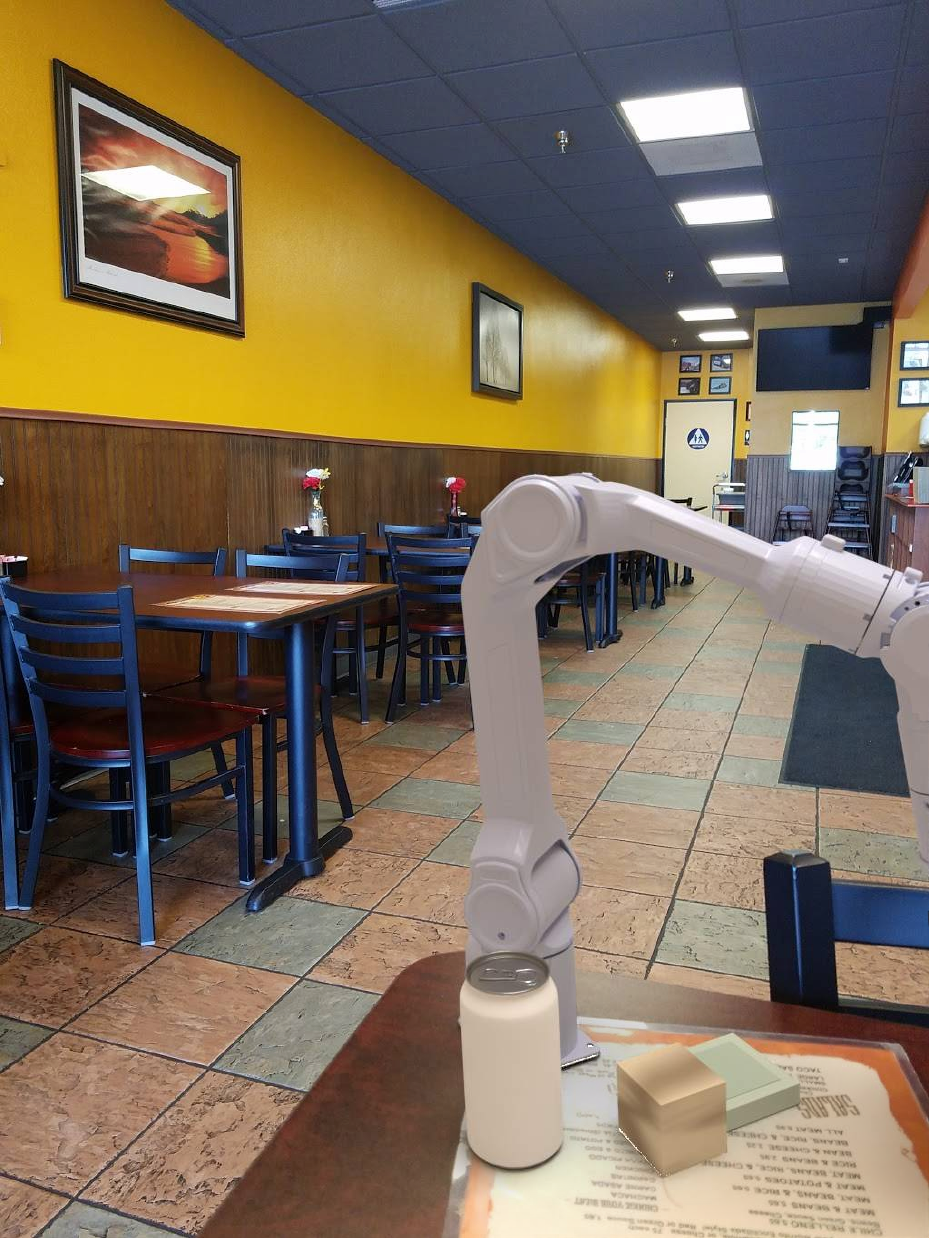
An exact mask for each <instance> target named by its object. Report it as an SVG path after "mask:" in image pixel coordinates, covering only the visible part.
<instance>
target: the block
mask: <svg viewBox="0 0 929 1238" xmlns="http://www.w3.org/2000/svg"><path fill="white" fill-rule="evenodd" d="M686 1048H687V1047H684V1045H682V1044H681V1043H680V1042H675V1043H672V1044H669V1045H666V1046H664V1047H660V1048H658V1049H655V1050H651V1051H648V1052H645V1053H642V1054H639V1055H637V1056H634V1057H631V1058H630V1057H629V1058H627V1059H624V1060H622V1061H617V1062H616V1063H615V1064H616V1091H617V1094H616V1095H617V1123H618V1127H619V1128H620V1129H621V1131H623V1133H625V1134H626V1136H627V1138H629V1140H630V1141H631V1142H632V1143H633V1144H634V1145H635V1147H637V1149H638V1150H639V1151H640V1152H642V1154H643V1155H644V1156H645V1157H646V1159H647V1160H648V1161H649V1162H650V1163H651V1164H652V1166H653V1167H655V1169H656V1170H657V1171H658V1172H659V1174H661V1176H662V1177H665V1178H667V1177H666V1175H669V1174H670V1176H672V1175H675V1174H676V1173H679V1171H680V1172H682V1171H684V1170H686V1169H689V1168H691V1167H695V1166H698V1165H699V1164H702V1163H704V1162H706V1161H709V1160H712V1159H714V1158H716V1157H719V1156H722V1155H724V1154H727V1153H728V1135H727V1133H728V1132H727V1117H726V1081H724V1080H723V1079H722V1078H721V1077H719V1076H718V1075H717V1074H716V1073H715V1072H713V1071H712V1070H711V1069H710V1068H709V1067H707V1066H706V1065H705V1064H704V1063H703V1062H701V1061H700V1060H699V1059H698V1058H697V1057H695V1056H694V1055H693V1054H692V1053H691V1052H689V1051H688V1050H687V1049H686ZM618 1127H617V1128H618ZM652 1166H651V1167H652ZM653 1167H652V1168H653ZM655 1169H654V1170H655ZM656 1170H655V1171H656ZM674 1173H675V1174H674ZM659 1174H658V1175H659ZM671 1174H672V1175H671ZM661 1176H660V1177H661ZM662 1177H661V1178H662Z"/></svg>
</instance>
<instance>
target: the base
mask: <svg viewBox="0 0 929 1238" xmlns="http://www.w3.org/2000/svg"><path fill="white" fill-rule="evenodd" d="M685 1048H686V1049H687V1050H688V1051H689V1052H691V1053H692V1054H693V1055H694V1056H695V1057H697V1058H698V1059H699V1060H700V1061H701V1062H703V1063H704V1064H705V1065H706V1066H707V1067H709V1068H710V1069H711V1070H712V1071H713V1072H715V1073H716V1074H717V1075H718V1076H719V1077H721V1078H722V1079H723V1080H724V1081H726V1117H727V1133H728V1132H731V1131H733V1130H735V1129H737V1128H740V1127H744V1126H745V1125H749V1124H751V1123H753V1122H756V1121H758V1120H761V1119H764V1118H766V1117H768V1116H771V1115H775V1114H776V1113H778V1112H781V1111H783V1110H787V1109H789V1108H791V1107H793V1106H797V1105H799V1104H801V1083H800V1081H798V1080H796V1079H795V1078H793V1077H792V1076H791V1075H790V1074H788V1073H787V1072H786V1071H785V1070H783V1069H782V1068H780V1067H779V1066H778V1065H776V1064H775V1063H774V1062H773V1061H771V1060H770V1059H768V1058H767V1057H766V1056H764V1055H763V1054H762V1053H760V1052H759V1051H758V1050H757V1049H755V1048H754V1047H753V1046H751V1045H750V1044H749V1043H747V1042H746V1041H744V1040H743V1039H742V1038H741V1037H739V1036H738V1035H737V1034H735V1033H734V1032H730V1033H728V1034H725V1035H721V1036H719V1037H716V1038H713V1039H710V1040H708V1041H707V1040H706V1041H704V1042H701V1043H698V1044H695V1045H693V1046H689V1047H685Z"/></svg>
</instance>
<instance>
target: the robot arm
mask: <svg viewBox="0 0 929 1238" xmlns="http://www.w3.org/2000/svg"><path fill="white" fill-rule="evenodd" d="M480 521H481V531H480V532H481V533H480V535H479V537H478V540H477V542H476V544H475V548H474V550H473V552H472V555H471V557H470V560H469V563H468V565H467V567H466V570H465V574H464V576H463V579H462V581H461V586H460V588H461V589H460V599H461V610H462V620H463V628H464V639H465V647H466V649H465V650H466V659H467V668H468V677H469V678H468V679H469V687H470V698H471V708H472V709H471V710H472V718H473V719H472V720H473V728H474V737H475V738H474V739H475V749H476V758H477V768H478V778H479V786H480V789H479V790H480V798H481V806H482V817H483V820H482V822H481V823H482V824H481V828H480V830H479V832H478V835H477V838H476V841H475V843H474V845H473V849H472V851H471V854H470V858H469V870H470V877H469V878H470V879H469V885H468V887H467V891H466V892H465V895H464V898H463V902H462V913H463V919H464V922H465V926H466V927H467V930H468V932H469V935H468V937H467V940H466V944H465V950H464V951H465V953H464V954H465V968H466V967H467V965H468V964H469V963H470V962H471V961H473V960H474V959H476V958H477V957H479V956H482V955H484V954H487V953H491V952H496V951H504V950H515V951H523V952H528V953H532V954H534V955H537V956H539V957H541V958H542V959H544V960H545V961H546V962H547V963H548V965H549V967H550V971H551V972H550V977H551V978H552V980H553V982H554V984H555V986H556V989H557V994H558V1008H559V1030H560V1054H561V1066H562V1065H565V1064H567V1063H571V1062H573V1061H576V1060H579V1059H582V1058H587V1057H590V1056H592V1055H597V1054H599V1053H600V1054H601V1047H600V1046H599V1045H598V1044H597V1043H596V1042H595V1041H593V1039H591V1038H590V1037H589V1036H588V1034H586V1033H585V1032H584V1030H582V1029H581V1028H580V1027H579V1026H578V1015H577V1014H578V1013H577V1009H578V1008H577V985H576V963H575V961H576V960H575V959H576V958H575V938H574V937H575V931H574V925H573V922H572V919H571V912H570V911H571V910H570V909H571V908H570V907H571V906H570V905H571V904H573V903H574V902H575V901H576V899H577V898H578V897H579V894H580V893H581V891H582V887H583V881H584V874H583V869H582V865H581V863H580V860H579V858H578V856H577V854H576V853H575V851H574V849H573V847H572V845H571V842H570V839H569V834H568V825H567V822H566V821H565V820H564V818H563V817H562V816H561V815H560V814H559V813H558V812H557V810H555V808H554V801H553V791H552V777H551V770H550V769H551V768H550V758H549V747H548V738H547V737H548V736H547V735H548V734H547V726H546V724H547V723H546V715H545V704H544V693H543V692H544V691H543V682H542V673H541V671H542V670H541V662H540V661H541V660H540V659H541V658H540V650H539V640H538V637H539V636H538V627H537V617H536V606H537V604H538V603H539V602H540V601H541V599H543V597H545V595H547V593H548V592H549V591H550V590H551V589H552V588H553V587H554V586H555V585H556V583H557V582H558V581H559V580H560V579H561V578H563V576H564V574H566V573H567V572H569V571H570V570H572V569H574V568H575V567H577V566H579V565H580V564H583V563H585V562H587V561H589V559H591V558H593V557H595V556H597V555H605V554H612V553H620V552H630V551H644V552H647V553H650V554H652V555H655V556H657V557H661V558H663V559H666V560H669V561H672V562H674V563H677V564H678V565H681V566H685V567H688V568H690V569H692V570H696V571H698V572H700V573H704V574H707V575H709V576H712V577H714V578H717V579H720V580H723V581H725V582H728V583H730V584H731V583H732V584H734V585H736V586H739V587H741V588H745V589H747V590H750V591H752V592H753V593H755V595H756V597H757V598H758V600H759V602H760V604H761V607H762V609H763V612H764V614H765V616H766V617H767V619H768V620H771V621H773V622H775V623H778V624H781V625H783V626H786V627H788V628H790V629H793V630H795V631H797V632H800V633H802V634H805V635H807V636H809V637H812V638H814V639H816V640H819V641H821V642H822V643H826V644H828V645H831V646H833V647H836V648H838V649H840V650H843V651H845V652H847V653H849V654H853V655H854V654H855V656H857V657H859V658H862V659H863V658H864V659H866V658H878V659H880V661H881V663H882V665H883V668H884V669H885V671H887V673H888V674H889V676H890V677H891V678H892V679H893V680H894V684H895V691H896V696H897V701H898V708H899V710H898V712H897V715H896V719H897V720H896V722H897V726H898V733H899V737H900V743H901V744H900V745H901V748H902V749H901V750H902V754H903V759H904V760H903V761H904V765H905V766H904V767H905V773H906V777H907V784H908V789H909V790H908V791H909V794H910V795H909V796H910V800H911V801H910V802H911V809H912V813H913V814H912V815H913V820H914V824H915V831H916V836H917V837H916V838H917V842H918V848H919V850H918V851H917V854H916V857H917V862H918V867H919V869H920V870H921V872H922V873H924V875H926V876H927V877H928V878H929V581H924V582H921V580H922V579H923V576H924V574H923V572H922V571H921V570H918V569H916V568H913V567H910V566H907V567H906V568H905V570H904V572H902V571H900V570H899V571H898V570H897V569H896V570H895V569H893V568H891V567H888V566H886V565H883V564H880V563H877V562H875V561H873V560H870V559H867V558H865V557H862V556H860V555H857V554H854V553H852V552H849V551H846V550H844V548H845V546H846V544H847V542H846V540H845V539H843V538H841V537H837V536H835V535H833V534H830V533H827V534H825V535H823V537H822V539H821V541H820V540H818V539H815V538H813V537H810V536H806V535H803V536H799V537H797V538H794V539H793V540H790V541H788V542H785V543H782V544H780V545H774V544H771V543H769V542H767V541H765V540H762V539H759V538H758V537H755V536H753V535H750V534H748V533H746V532H744V531H741V530H739V529H737V528H734V527H731V526H729V525H727V524H725V523H723V522H720V521H719V520H716V519H713V518H712V517H708V516H706V515H704V514H703V513H702V514H701V513H700V512H697V511H694V510H692V509H690V508H688V507H686V506H683V505H681V504H679V503H676V502H674V501H671V500H669V499H667V498H665V497H662V496H661V495H660V496H659V495H657V494H655V493H654V492H650V491H647V490H644V489H641V488H637V487H634V486H631V485H627V484H625V483H619V482H613V481H602V480H600V479H599V478H597V477H595V476H593V475H592V474H591V475H590V474H586V473H570V474H567V475H563V476H562V475H561V476H560V475H559V476H548V475H545V474H544V475H543V474H528V475H526V476H525V475H524V476H522V477H519V478H516V479H514V481H512V482H510V483H509V484H508V485H507V486H506V487H504V489H502V491H500V493H498V495H496V497H495V498H494V499H493V500H491V502H490V503H488V505H487V506H486V507H485V508H484V509H483V510H482V511H481V512H480ZM927 925H928V926H929V910H927ZM457 1021H458V1022H457V1023H458V1025H459V1026H460V1027H461V1018H460V1017H458V1019H457ZM588 1045H592V1046H593V1047H588Z"/></svg>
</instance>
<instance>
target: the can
mask: <svg viewBox="0 0 929 1238" xmlns="http://www.w3.org/2000/svg"><path fill="white" fill-rule="evenodd" d="M550 972H551V971H550V967H549V965H548V963H547V962H546V961H545V960H544V959H542V958H541V957H539V956H537V955H534V954H532V953H528V952H523V951H515V950H504V951H496V952H491V953H487V954H484V955H482V956H479V957H477V958H476V959H474V960H473V961H471V962H470V963H469V964H468V965H467V967H466V966H465V969H464V978H465V979H464V982H463V984H462V986H461V989H460V992H459V1013H460V1016H459V1018H461V1026H460V1033H461V1034H460V1036H461V1053H462V1055H461V1056H462V1072H463V1088H464V1104H465V1105H464V1107H465V1121H466V1122H465V1123H466V1134H467V1136H466V1137H467V1142H468V1144H469V1147H470V1148H471V1149H472V1151H473V1152H474V1153H475V1155H477V1156H478V1157H479V1158H480V1159H481V1160H482V1161H484V1162H485V1163H487V1164H489V1165H490V1166H494V1167H497V1168H500V1169H504V1170H505V1169H506V1170H524V1169H530V1168H533V1167H537V1166H538V1165H542V1164H543V1163H545V1162H547V1161H548V1160H549V1159H550V1158H551V1157H552V1156H554V1154H555V1153H557V1151H558V1150H559V1149H560V1147H561V1146H562V1143H563V1139H564V1118H563V1117H564V1113H563V1111H564V1110H563V1088H562V1085H563V1083H562V1068H561V1054H560V1030H559V1008H558V994H557V989H556V986H555V984H554V982H553V980H552V978H551V977H550Z"/></svg>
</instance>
